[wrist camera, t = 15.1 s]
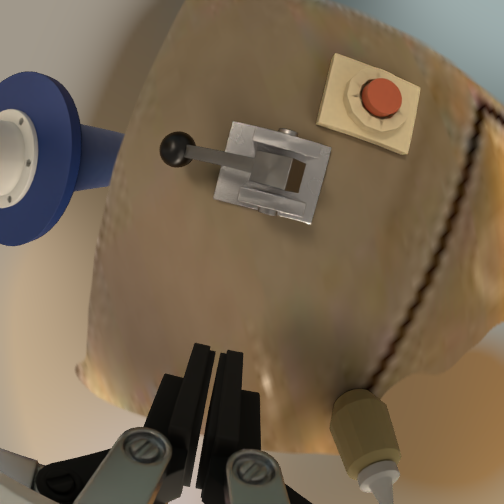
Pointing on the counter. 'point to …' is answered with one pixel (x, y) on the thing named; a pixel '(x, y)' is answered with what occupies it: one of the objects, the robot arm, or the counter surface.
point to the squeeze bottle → (366, 442)
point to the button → (381, 97)
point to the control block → (355, 113)
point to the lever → (236, 162)
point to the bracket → (265, 197)
